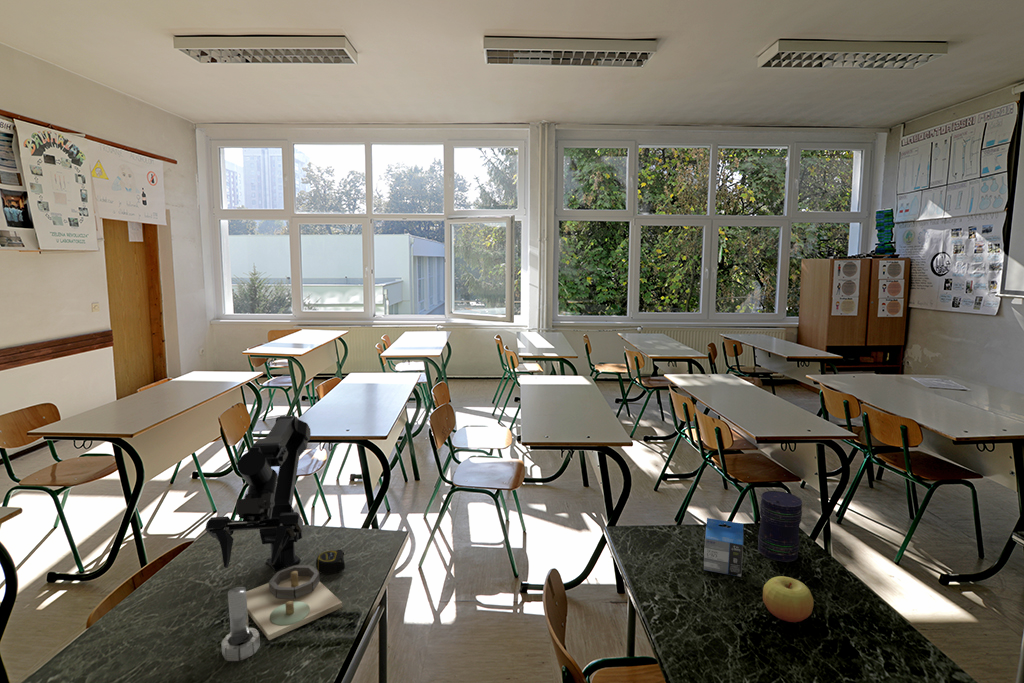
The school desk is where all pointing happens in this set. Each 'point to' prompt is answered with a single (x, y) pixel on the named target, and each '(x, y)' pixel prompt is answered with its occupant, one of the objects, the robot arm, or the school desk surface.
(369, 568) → the school desk surface
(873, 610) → the school desk surface
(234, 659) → the gear
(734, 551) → the label tape box
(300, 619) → the gear board
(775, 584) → the apple
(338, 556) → the tape measure
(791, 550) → the storage jar
